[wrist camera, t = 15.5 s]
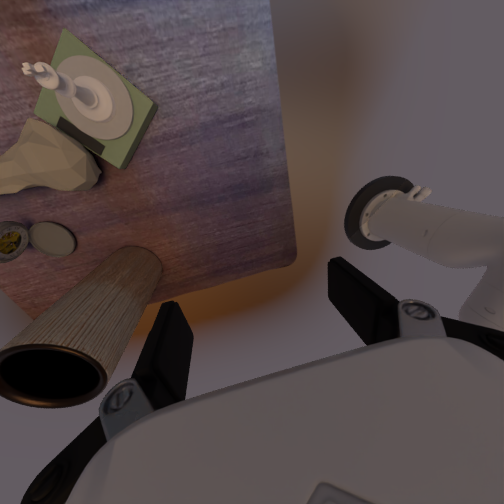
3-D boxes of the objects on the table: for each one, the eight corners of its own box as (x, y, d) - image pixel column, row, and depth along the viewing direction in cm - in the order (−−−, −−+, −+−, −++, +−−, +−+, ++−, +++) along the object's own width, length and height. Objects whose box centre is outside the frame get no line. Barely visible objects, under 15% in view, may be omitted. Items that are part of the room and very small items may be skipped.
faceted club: (120, 190, 32) (-27, 224, 31) (101, 136, 30) (-54, 171, 30) (75, 180, 23) (-130, 227, 23) (44, 103, 21) (-177, 152, 21)
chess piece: (64, 80, 24) (-29, 30, 15) (103, 73, 24) (35, 20, 15) (87, 126, 26) (18, 106, 17) (122, 119, 26) (73, 96, 17)
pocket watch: (85, 249, 36) (41, 278, 27) (40, 261, 35) (-20, 294, 26) (56, 208, 32) (-7, 225, 23) (5, 220, 32) (-79, 242, 23)
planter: (126, 293, 41) (37, 420, 21) (98, 254, 36) (-52, 368, 16) (171, 279, 41) (126, 391, 21) (148, 239, 37) (63, 332, 16)
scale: (77, 38, 24) (59, 23, 22) (158, 106, 29) (152, 101, 26) (47, 116, 27) (29, 111, 24) (125, 168, 31) (117, 169, 29)
